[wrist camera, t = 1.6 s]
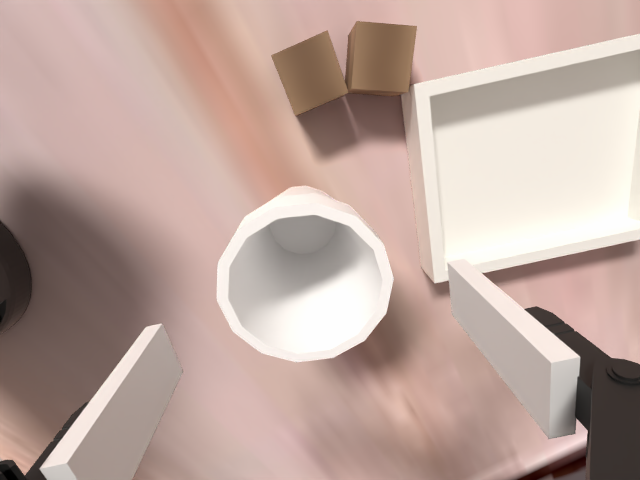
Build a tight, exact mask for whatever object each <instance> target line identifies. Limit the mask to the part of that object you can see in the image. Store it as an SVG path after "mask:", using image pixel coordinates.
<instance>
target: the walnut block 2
mask: <svg viewBox="0 0 640 480" xmlns="http://www.w3.org/2000/svg"><path fill="white" fill-rule="evenodd" d="M416 30H417V26H408V25H396V24H384V23H372V22H360V21H357V22H356V23H355V25H354V27H353V29H352V30H351V32H350V34H349V35H348V48H347V62H346V75H345V83H346V86H347V89H348V92H349V93H353V94H368V95H383V96H396V95H400V94H404V93H408V91H409V83H410V76H411V68H412V60H413V53H414V45H415V37H416Z"/></svg>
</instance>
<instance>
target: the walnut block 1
mask: <svg viewBox="0 0 640 480" xmlns="http://www.w3.org/2000/svg"><path fill="white" fill-rule="evenodd" d="M271 56H272V59H273V61H274V64H275V66H276V69H277V71H278V74H279V76H280V79H281V81H282V84H283V86H284V89H285V91H286V94H287V96H288V99H289V101H290V104H291V106H292V109H293V111H294V114H295V116H297V115H300V114H302V113H304V112H307V111H309V110H311V109H314V108H316V107H318V106H321V105H323V104H325V103H328V102H330V101H332V100H335V99H337V98H339V97H342V96H343V95H345V94H347V93H349V92H348V89H347V86H346V83H345V81H344V78H343V75H342V72H341V69H340V66H339V63H338V60H337V57H336V54H335V51H334V48H333V45H332V42H331V39H330V36H329V33H328V30H327V31H325V32H323V33H321V34H318V35H316V36H314V37H312V38H309V39H307V40H305V41H303V42H300V43H298V44H296V45H294V46H291V47H289V48H287V49H285V50H282V51H280V52H278V53H276V54H274V55H271Z"/></svg>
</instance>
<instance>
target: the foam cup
mask: <svg viewBox="0 0 640 480" xmlns="http://www.w3.org/2000/svg"><path fill="white" fill-rule="evenodd" d="M393 280H394V278H393V274H392V271H391V268H390V264H389V261H388V257H387V254H386V250H385V247H384V244H383V242H382V241H381V239H380V238H379V236H378V235H377V234H376V232H375V231H374V229H373V228H372V227H371V226H370V225H369V224H368V223H367V222H366V221H365V220H364V219H363V218H362V217H361V216H360V215H359V214H358V213H357V212H356V211H355V210H354V209H353V208H352V207H351V206H350V205H348V204H345V203H342V202H339V201H337V200H335V199H334V198H332V197H331V196H329V195H328V194H326V193H325V192H323V191H321V190H318V189H315V188H312V187H309V186H299V187H291V188H289V189H287V190H286V191H284V192H283V193H281V194H279V195H278V196H276V197H275V198H274V199H272V200H271V201H269V202H268V203H266V204H264V205H263V206H261V207H260V208H258V209H256V210H255V211H253V212H252V213H250V214H248V215H247V216H245V217H244V219H243V221H242V222H241V224H240V226H239V227H238V229H237V231H236V232H235V234H234V236H233V237H232V239H231V241H230V243H229V244H228V246H227V248H226V249H225V251H224V253H223V255H222V256H221V258H220V260H219V262H218V266H217V302H218V304H219V305H220V307H221V309H222V311H223V313H224V315H225V317H226V319H227V321H228V323H229V325H230V327H231V329H232V331H233V332H234V333H235V334H237V335H238V336H239V337H241V338H242V339H243V340H245V341H246V342H247V343H249V344H250V345H251V346H252V347H254V348H255V349H256V350H258V351H259V352H260V353H262V354H266V355H270V356H274V357H278V358H282V359H286V360H290V361H294V362H303V361H311V360H320V359H328V358H334V357H335V356H337V355H339V354H341V353H343V352H345V351H347V350H348V349H350V348H352V347H354V346H356V345H358V344H359V343H361V342H363V341H365V340H366V338H367V337H368V336H369V335H370V333H371V332H372V331H373V329H374V328H375V327H376V326H377V324H378V323H379V322H380V321H381V319H382V318H383V317H384V315H385V314H386V313H387V308H388V303H389V299H390V294H391V290H392V285H393Z"/></svg>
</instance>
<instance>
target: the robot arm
mask: <svg viewBox="0 0 640 480" xmlns="http://www.w3.org/2000/svg"><path fill="white" fill-rule="evenodd" d="M447 265H448V276H449V287H450V298H451V310H452V315H453V316H454V318H455V319H456V320H457V322H458V323H459V324H460V325H461V327H462V328H463V329H464V331H465V332H466V333H467V334H468V336H469V337H470V338H471V340H472V341H473V342H474V343H475V345H476V346H477V347H478V349H479V350H480V351H481V352H482V354H483V355H484V356H485V358H486V359H487V360H488V361H489V363H490V364H491V365H492V367H493V368H494V369H495V370H496V372H497V373H498V374H499V376H500V377H501V378H502V379H503V381H504V382H505V383H506V385H507V386H508V387H509V388H510V390H511V391H512V392H513V394H514V395H515V396H516V397H517V399H518V400H519V401H520V403H521V404H522V405H523V406H524V408H525V409H526V410H527V412H528V413H529V414H530V415H531V417H532V418H533V419H534V421H535V422H536V423H537V424H538V426H539V427H540V428H541V430H542V431H543V432H544V433H545V435H546V436H547V437H548V439H552V438H557V437H562V436H567V435H572V434H575V430H576V418H577V419H578V420H579V421H580V422H581V424H582V425H583V426H584V427H585V428H586V429H587V430H588V435H587V447H586V480H640V364H638V363H635V362H631V361H628V360H625V359H616V358H611V357H609V356H608V355H607V354H605V353H604V352H603V351H601V350H600V349H599V348H598V347H596V346H595V345H594V344H592V343H591V342H590V341H588V340H587V339H586V338H585V337H583V336H582V335H581V334H579V333H578V332H577V331H574V329H573V328H571V327H570V326H569V325H568V324H565V323H564V321H562V320H561V319H560V318H558V317H557V316H556V315H554V314H553V313H551V312H549V311H547V310H544V309H542V308H539V307H537V306H536V307H532V308H527V309H523V308H522V307H521V306H520V305H518V304H517V303H516V302H515V301H514V300H513V299H511V298H510V297H509V296H508V295H507V294H506V293H504V292H503V291H502V290H501V289H500V288H498V287H497V286H496V285H495V284H494V283H493V282H491V281H490V280H489V279H488V278H487V277H485V276H484V275H483V274H482V273H481V272H480V271H478V270H477V269H476V268H475V267H474V266H472V265H471V264H470V263H469V262H468V261H467V260H465V259H460V260H455V261H450V262H447ZM30 295H31V276H30V271H29V267H28V264H27V261H26V259H25V256H24V254H23V252H22V250H21V248H20V247H19V245H18V243H17V242H16V241H15V239H14V238H13V236H12V235H11V234H10V233H9V231H8V230H7V229H6V228H5V227H4V226H3V225H2V224H1V223H0V334H1V333H3V332H4V331H6V330H7V329H8V328H10V327H11V326H12V325H14V324H15V323H16V322H17V321H18V320H19V319H20V318H21V316H22V315H23V313H24V312H25V310H26V308H27V306H28V303H29V300H30ZM182 373H183V369H182V367H181V365H180V363H179V360H178V358H177V356H176V353H175V351H174V349H173V347H172V344H171V342H170V340H169V337H168V335H167V333H166V331H165V328H164V326H163V324H162V323H161V324H157V325H152V326H147V327H146V328H145V329H144V330H143V332H142V333H141V334H140V336H139V337H138V338H137V340H136V341H135V342H134V343H133V345H132V346H131V347H130V349H129V350H128V351H127V353H126V354H125V355H124V357H123V358H122V359H121V361H120V362H119V363H118V365H117V366H116V367H115V369H114V370H113V371H112V373H111V374H110V375H109V377H108V378H107V379H106V381H105V382H104V383H103V385H102V386H101V387H100V389H99V390H98V391H97V393H96V394H95V395H94V397H93V398H92V399H91V401H90V402H86V403H85V404H84V405H83V406H82V407H81V408H79V409H78V410H77V411H76V412H75V413H74V414H73V415H72V416H71V417H70V418H69V420H68V421H67V422H66V423H65V425H64V426H63V427H62V430H61V431H59V432H58V434H57V435H56V436H55V438H54V441H53V442H51V443H50V444H49V445H48V447H47V448H46V449H45V450H44V452H43V453H42V454H41V456H40V457H39V458H38V459H37V461H36V462H35V463H34V465H33V466H32V467H31V468H30V470H29V471H28V472H27V474H26V475H25V476H24V474H23V473H22V472H21V470H20V469H19V468H18V466H17V465H16V463H15V462H14V461H13V460H4V461H0V480H132V479H133V477H134V475H135V473H136V471H137V468H138V466H139V464H140V462H141V460H142V458H143V456H144V454H145V451H146V449H147V447H148V445H149V443H150V441H151V439H152V437H153V434H154V432H155V430H156V428H157V426H158V424H159V422H160V420H161V417H162V415H163V413H164V411H165V409H166V407H167V405H168V403H169V400H170V398H171V396H172V394H173V392H174V390H175V388H176V385H177V383H178V381H179V379H180V377H181V375H182Z"/></svg>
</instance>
